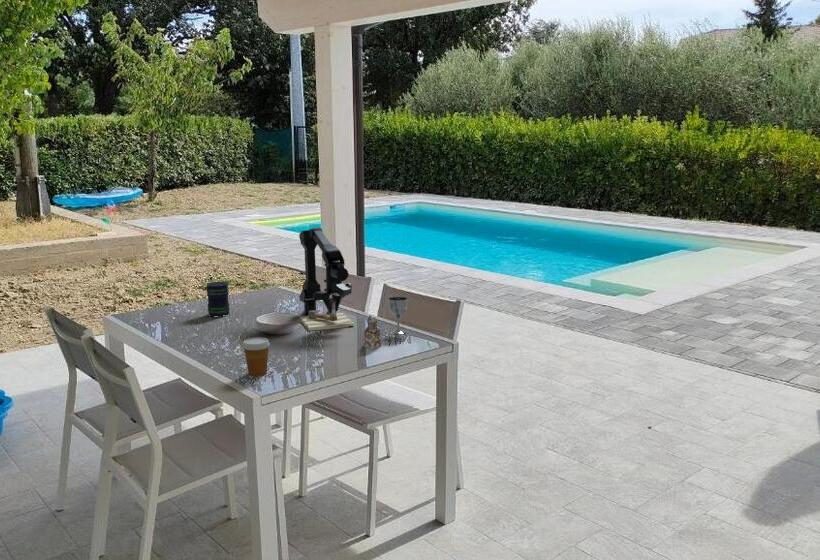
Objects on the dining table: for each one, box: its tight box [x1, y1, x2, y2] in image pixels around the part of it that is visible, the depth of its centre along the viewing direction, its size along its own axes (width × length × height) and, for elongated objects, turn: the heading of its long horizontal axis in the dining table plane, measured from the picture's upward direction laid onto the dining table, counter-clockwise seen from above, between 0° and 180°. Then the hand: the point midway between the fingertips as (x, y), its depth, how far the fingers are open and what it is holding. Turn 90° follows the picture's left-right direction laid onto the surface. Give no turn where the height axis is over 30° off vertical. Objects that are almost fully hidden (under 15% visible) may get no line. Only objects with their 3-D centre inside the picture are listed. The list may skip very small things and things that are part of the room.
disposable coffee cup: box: [242, 337, 271, 377], centre depth 268 cm, size 10×10×12 cm
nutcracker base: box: [299, 310, 355, 331], centre depth 338 cm, size 20×20×6 cm
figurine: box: [362, 315, 382, 349], centre depth 301 cm, size 7×7×12 cm
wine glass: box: [388, 295, 408, 335], centre depth 320 cm, size 8×8×15 cm
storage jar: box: [206, 281, 230, 316], centre depth 354 cm, size 10×10×15 cm
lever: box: [308, 299, 337, 321], centre depth 337 cm, size 16×4×10 cm, turn 50°
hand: (333, 312), depth 333 cm, fingers open, 3 cm apart
